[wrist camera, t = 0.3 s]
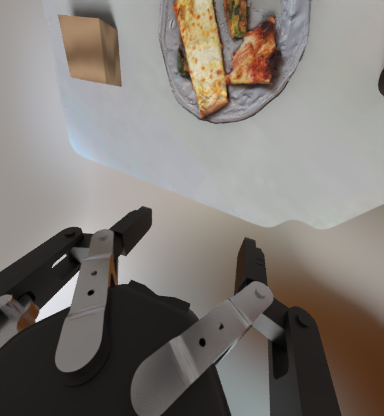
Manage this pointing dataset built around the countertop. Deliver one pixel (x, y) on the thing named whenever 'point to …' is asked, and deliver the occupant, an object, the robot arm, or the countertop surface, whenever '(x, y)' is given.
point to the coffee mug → (381, 83)
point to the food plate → (230, 55)
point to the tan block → (91, 49)
